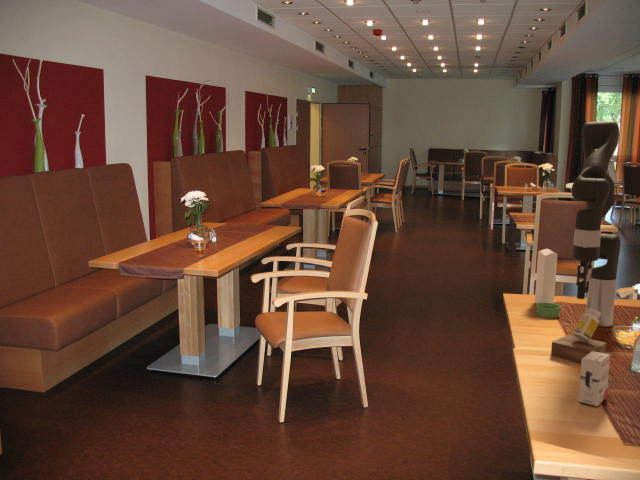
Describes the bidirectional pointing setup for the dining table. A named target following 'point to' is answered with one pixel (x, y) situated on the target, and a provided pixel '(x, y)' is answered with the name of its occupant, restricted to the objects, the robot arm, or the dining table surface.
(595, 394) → the ink box
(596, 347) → the walnut plinth block
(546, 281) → the tall cream pillar
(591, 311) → the supplement bottle
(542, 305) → the ramekin
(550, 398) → the dining table surface
